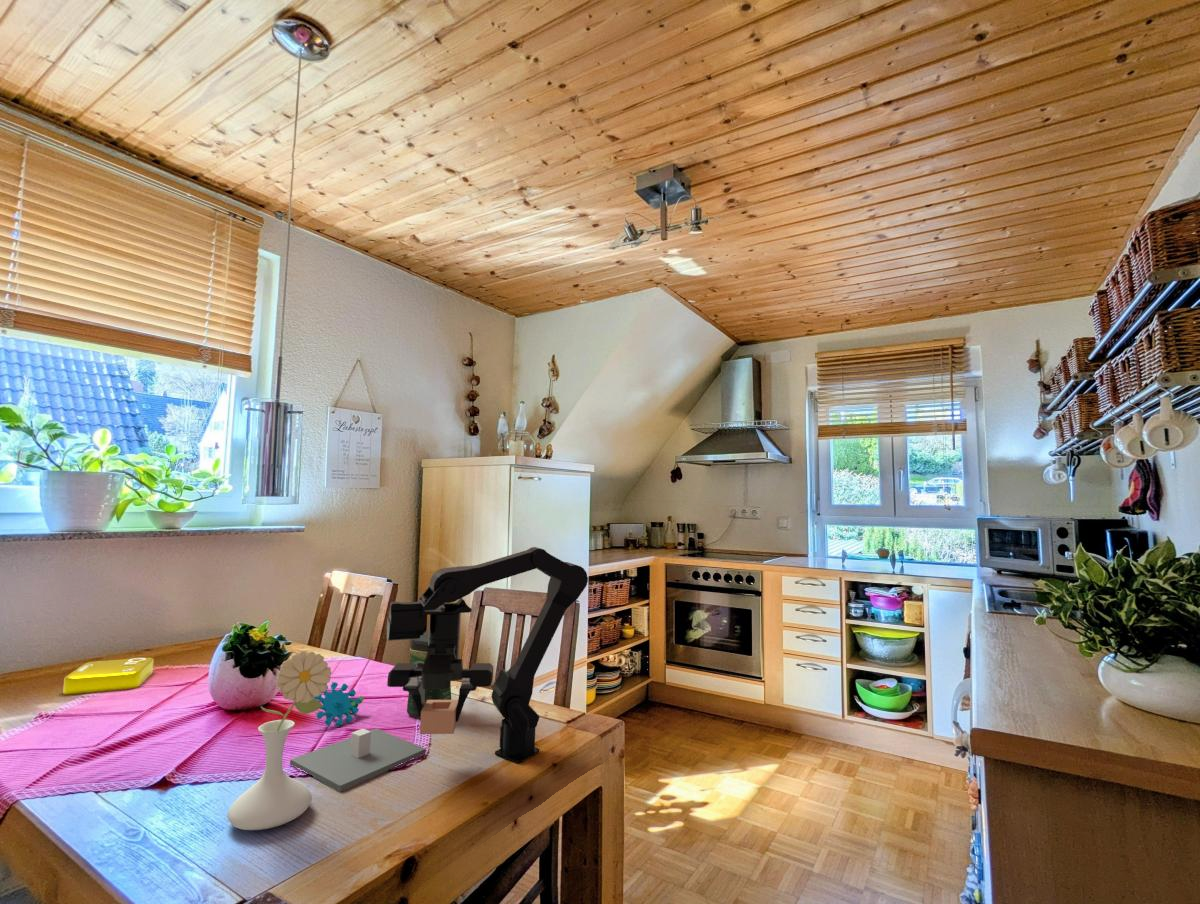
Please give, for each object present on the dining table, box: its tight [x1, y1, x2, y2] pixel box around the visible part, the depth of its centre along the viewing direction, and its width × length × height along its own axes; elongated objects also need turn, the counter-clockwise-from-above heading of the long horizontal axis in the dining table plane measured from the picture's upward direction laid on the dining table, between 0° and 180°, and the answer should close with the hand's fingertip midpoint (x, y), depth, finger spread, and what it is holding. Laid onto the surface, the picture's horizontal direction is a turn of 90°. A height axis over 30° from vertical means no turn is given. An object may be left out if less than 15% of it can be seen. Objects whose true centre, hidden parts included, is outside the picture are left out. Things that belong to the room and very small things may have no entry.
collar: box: [419, 699, 458, 735], centre depth 107 cm, size 6×6×4 cm
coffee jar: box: [406, 630, 452, 719], centre depth 133 cm, size 10×8×19 cm
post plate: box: [289, 728, 427, 793], centre depth 109 cm, size 16×18×5 cm
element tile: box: [62, 657, 155, 695], centre depth 147 cm, size 15×15×5 cm
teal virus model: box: [314, 681, 365, 727], centre depth 128 cm, size 11×6×10 cm
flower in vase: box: [226, 650, 332, 831], centre depth 90 cm, size 13×11×25 cm
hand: (439, 721), depth 107 cm, fingers closed on collar, 6 cm apart
